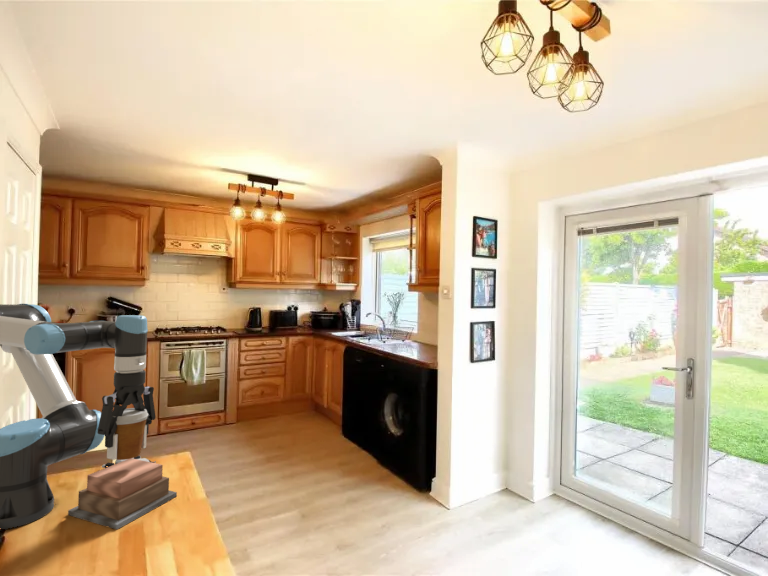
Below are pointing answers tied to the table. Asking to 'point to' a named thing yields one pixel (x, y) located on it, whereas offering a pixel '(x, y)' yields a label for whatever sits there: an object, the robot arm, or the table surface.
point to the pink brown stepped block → (122, 493)
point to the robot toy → (124, 460)
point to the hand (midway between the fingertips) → (127, 452)
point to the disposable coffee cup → (130, 433)
